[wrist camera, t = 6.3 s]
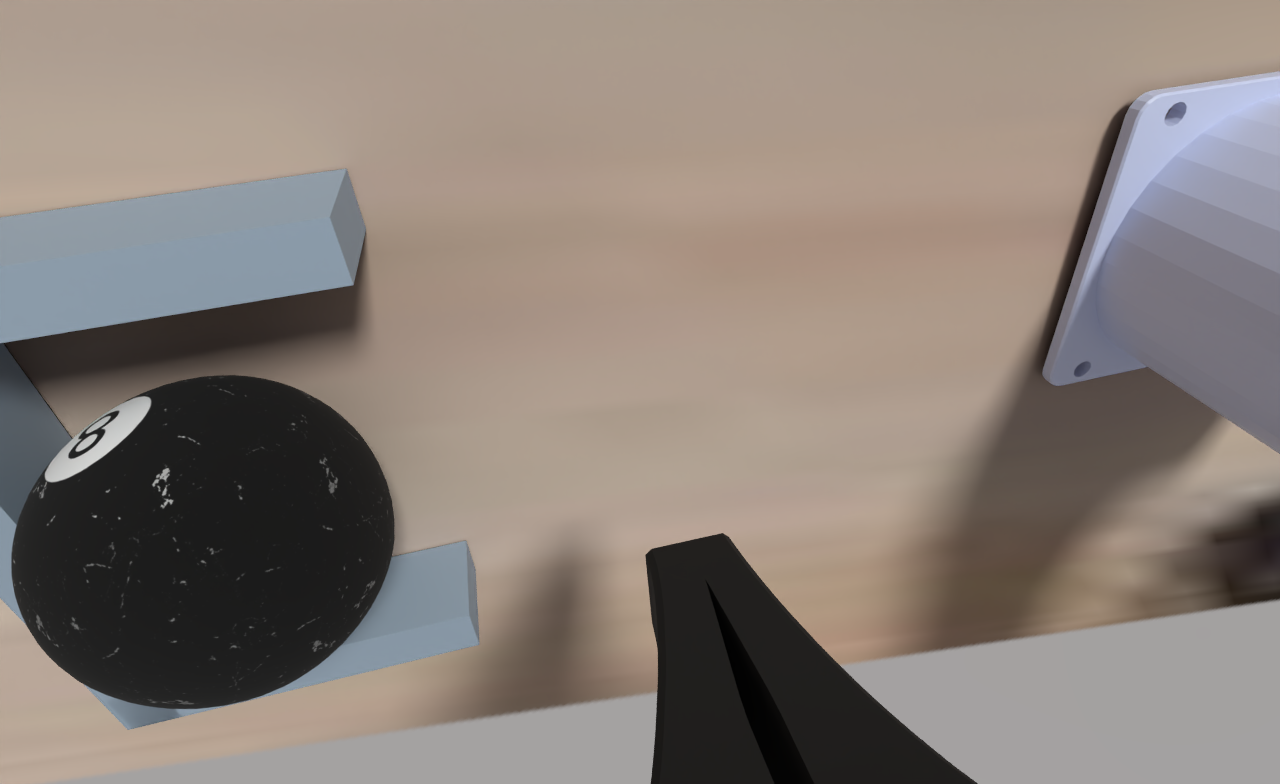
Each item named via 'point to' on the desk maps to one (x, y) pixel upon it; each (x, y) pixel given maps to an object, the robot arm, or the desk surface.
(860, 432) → the desk surface
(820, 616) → the desk surface
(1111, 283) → the robot arm
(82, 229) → the corral
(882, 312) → the desk surface
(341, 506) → the billiard ball
